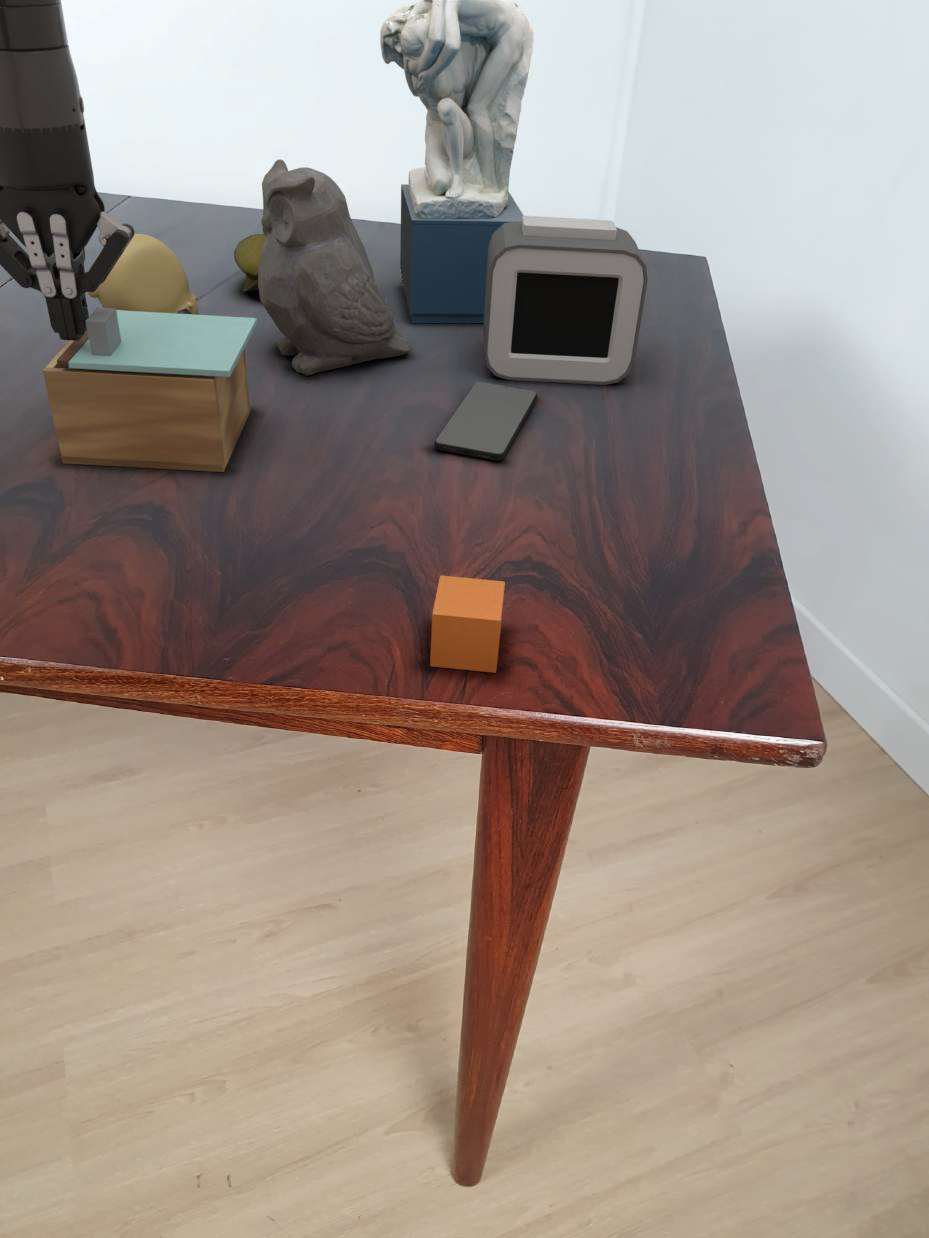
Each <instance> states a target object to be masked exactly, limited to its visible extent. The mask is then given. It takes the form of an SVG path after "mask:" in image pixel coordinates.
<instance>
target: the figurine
mask: <svg viewBox="0 0 929 1238" xmlns="http://www.w3.org/2000/svg"><path fill="white" fill-rule="evenodd" d="M261 191H262V209H263V210H262V217H261V226H262V234H265V236H266V238H265V243H264V246H263V249H262V252H261V255H260V258H259V270H258V288H259V289H258V293H259V299H260V302H261V304H262V307H263V308H264V309H265V311H266V313H267V314H268V316H269V317H270V318H271V320H272V321H273V323H274V325H275V326H276V328H277V330H278V331H279V332H280V333H281V334H282V335H283V336H284V337H283V338H281V339H280V340H279V342H278V349H279V351H280V354H281V355H282V356H294V357H293V358H292V360H291V367H292V369H294V370H295V372H296V373H297V374H302V375H303V376H312V375H314V374H317V373H322V372H326V371H330V370H335V369H339V368H344V367H349V366H352V365H356V364H361V363H365V362H368V361H374V360H379V359H388V358H393V357H398V356H399V357H400V356H403V355H406V354H408V353H409V351H410V343H409V341H408V339H407V338H406V335H404V333H402V332H401V330H400V329H398V328H397V327H396V324H395V322H394V316H393V314H392V312H391V309H390V308H389V306H388V303H387V301H386V298H385V297H384V295H383V294H382V293H381V291H380V289H379V287H378V284H377V283H376V280H375V275H374V270H373V267H372V265H371V261H370V260H369V257H368V254H367V252H366V251H367V250H366V249H365V246H364V243H363V242H362V240H361V238H360V235H359V233H358V231H357V228H356V227H355V225H354V223H353V220H352V218H351V214H350V211H349V208H348V206H349V205H348V202H347V198H346V196H345V194H344V192H343V191H342V189H341V188H340V186H339V185H338V184H337V183H336V182H335V180H333V179H332V178H331V177H330V176H329V175H327V174H326V173H324V172H322V171H319V170H317V169H314V168H311V167H307V166H306V167H298V168H293V169H291V170H289V169H288V166H287V164H286V162H285V161H284V160H283V159H281V158H280V159H276V160H275V161H274V163H273V165H272V166H271V168H270V169H269V170H268V171H267V172H266V173H265V174H264V176H263V179H262V182H261Z"/></svg>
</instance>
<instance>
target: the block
mask: <svg viewBox="0 0 929 1238" xmlns="http://www.w3.org/2000/svg"><path fill="white" fill-rule="evenodd" d="M505 587H506V582H505V581H502V580H493V579H483V578H472V577H463V576H462V577H461V576H450V575H439V579H438V584H437V589H436V592H435V593H436V594H435V598H434V603H433V609H432V611H431V612H432V613H431V631H430V632H431V634H430V636H431V637H430V656H429V657H430V659H429V661H430V662H429V663H430V664H429V666H430V667H433V668H444V669H454V670H460V671H461V670H462V671H473V672H483V673H492V674H496V673H497V668H498V659H499V650H500V641H501V640H500V639H501V630H502V621H503V610H504V599H505V590H506V589H505Z"/></svg>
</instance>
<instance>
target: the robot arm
mask: <svg viewBox="0 0 929 1238" xmlns="http://www.w3.org/2000/svg"><path fill="white" fill-rule="evenodd" d="M85 120H86V119H85V105H84V100H83V97H82V94H81V90H80V85H79V80H78V75H77V72H76V68H75V65H74V61H73V58H72V54H71V50H70V45H69V40H68V34H67V28H66V21H65V15H64V10H63V3H62V0H0V266H1V268H2V269H4V270H5V271H6V272H7V274H8V275H9V276H11V278H12V279H13V280H14V281H15V282H16V283H18V285H19V286H20V287H21V288H24V289H29V288H31V289H32V290H36V291H39V292H40V293H41V294H42V295H43V297H44V298H45V303H46V308H47V312H48V317H49V323H50V327H51V329H52V330H53V332H54V333H56V334H58V336H59V339H60V340H61V341H70V340H74V341H79V340H80V339H81V338H82V337H83V336H84V334H85V332H86V331H87V326H86V320H87V319H88V318H89V316H90V314H89V308H88V303H87V297H86V293H88V292H94V291H96V290H97V288H98V287H99V285H100V284H102V283H103V282H104V281H105V280H106V278H107V277H108V275H109V273H110V272H111V270H112V269H113V267H114V266H115V264H116V263H117V261H118V260H119V258H120V256H121V255H122V253H123V252H124V250H125V249H126V247H127V246H128V244H129V243H130V241H131V239H132V238H133V236H134V234H135V229H134V227H133V226H132V225H131V224H129V223H122V224H121V223H120V222H119V221H117V220H116V219H115V218H114V217H112V216H111V215H109V213H107V212H106V208H105V203H104V201H103V199H102V197H100V195H99V193H98V191H97V189H96V184H95V175H94V169H93V164H92V158H91V151H90V145H89V140H88V132H87V127H86V121H85ZM97 228H98V229H99V235H98V242H99V243H100V245H101V246H102V249H101V250H102V251H101V250H100V251H99V253H100V254H99V253H98V254H99V256H98V255H97V256H98V257H97V256H96V258H97V259H96V258H95V260H94V262H93V263H92V265H91V266H90V268H89V270H88V271H86V269H85V261H86V250H85V247H86V246H87V245H88V244H89V242H90V241H91V238H92V237H93V235H94V233H95V232H96V229H97ZM10 233H12V234H13V235H14V236H15V238H16V239H17V240H18V241H19V242H20V243H21V245H23V246H24V247H25V248H26V250H25V249H24V248H23V247H22V246H21V245H20V244H19V243H18V242H17V241H16V240H15V239H14V237H12V236H11V234H10Z"/></svg>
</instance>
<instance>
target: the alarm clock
mask: <svg viewBox="0 0 929 1238" xmlns="http://www.w3.org/2000/svg"><path fill="white" fill-rule="evenodd" d="M648 280H649V279H648V270H647V265H646V262H645V260H644V258H643V255H642V253H641V251H640V249H639V247H638V245H637V242H636V240H635V239H634V238H633V236H632V235H631V234H630V233H629V231H628V230H625V229H623V228H620V227H617V226H616V225H615V222H614V221H613V220H609V219H593V218H574V217H572V218H571V217H555V216H537V215H524V216H523V217H522V221H514V222H508V223H504V224H503V225H502V226H500V227H499V228H498V229H497V230H496V231H495V232H494V233H493V234H492V237H491V240H490V243H489V246H488V259H487V275H486V290H485V306H484V321H483V323H482V326H483V327H482V328H483V329H482V331H483V334H482V335H483V356H484V360H485V366H486V367H487V369H488V370H489V371H490V372H491V373H492V374H493V375H494V376H495V377H497V378H501V379H504V380H506V381H517V382H518V381H520V382H540V383H559V384H560V383H561V384H577V385H578V384H579V385H581V384H582V385H597V386H605V385H606V386H607V385H611V384H617V383H620V381H622V380H623V379H624V378H626V377H627V376H628V375H629V374H630V372H631V370H632V368H633V365H634V363H635V361H636V354H637V347H638V341H639V335H640V330H641V323H642V318H643V311H644V305H645V299H646V292H647V288H648V287H647V286H648Z"/></svg>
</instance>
